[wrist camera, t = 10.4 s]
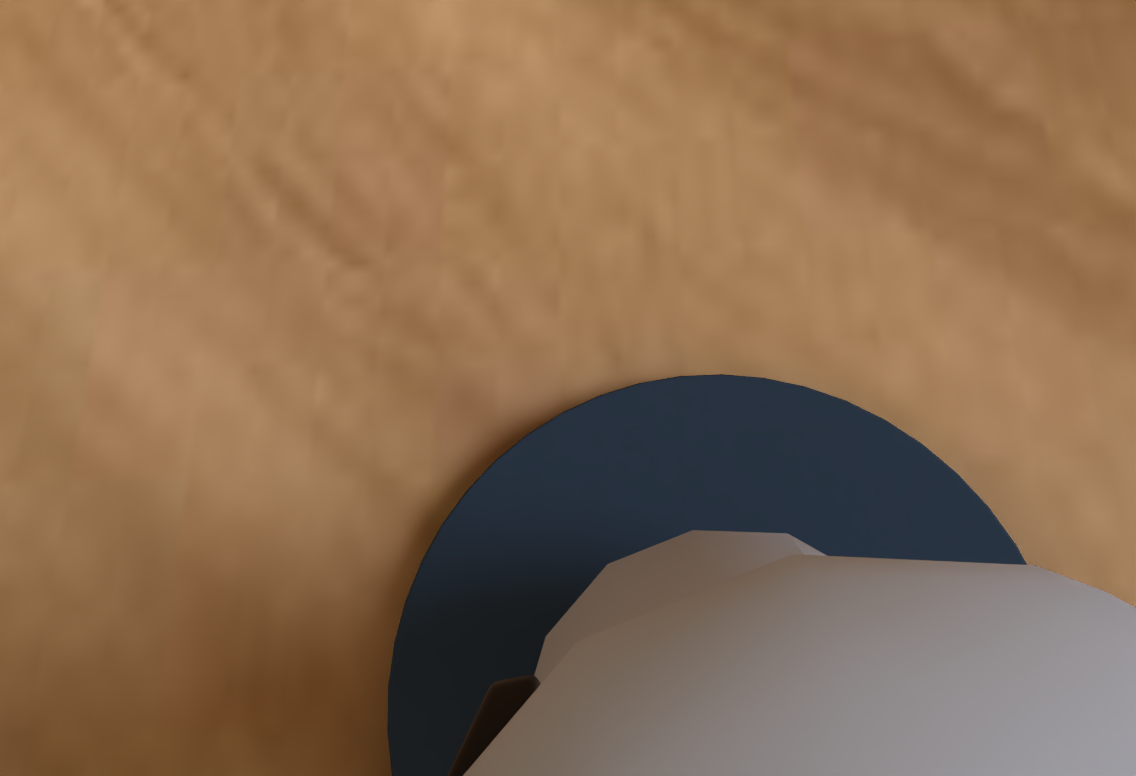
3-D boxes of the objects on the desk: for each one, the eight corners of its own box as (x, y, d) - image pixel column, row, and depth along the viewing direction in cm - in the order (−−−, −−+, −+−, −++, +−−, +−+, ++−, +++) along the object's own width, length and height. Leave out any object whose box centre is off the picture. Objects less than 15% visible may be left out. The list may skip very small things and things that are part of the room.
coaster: (849, 1241, 14) (856, 1265, 13) (271, 799, 16) (259, 806, 15) (1184, 598, 15) (1202, 598, 15) (612, 272, 17) (610, 262, 17)
